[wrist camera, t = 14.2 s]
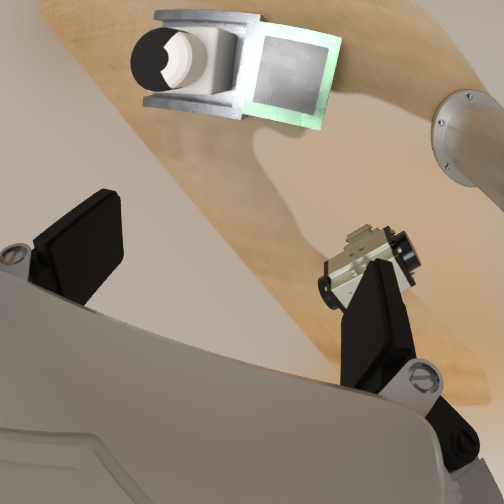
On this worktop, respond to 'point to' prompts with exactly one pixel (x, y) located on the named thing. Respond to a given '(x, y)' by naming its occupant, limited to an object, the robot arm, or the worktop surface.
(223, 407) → the robot arm
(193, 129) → the worktop surface
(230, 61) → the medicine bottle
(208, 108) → the grey and green bracket
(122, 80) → the worktop surface
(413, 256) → the pneumatic valve
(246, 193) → the worktop surface
